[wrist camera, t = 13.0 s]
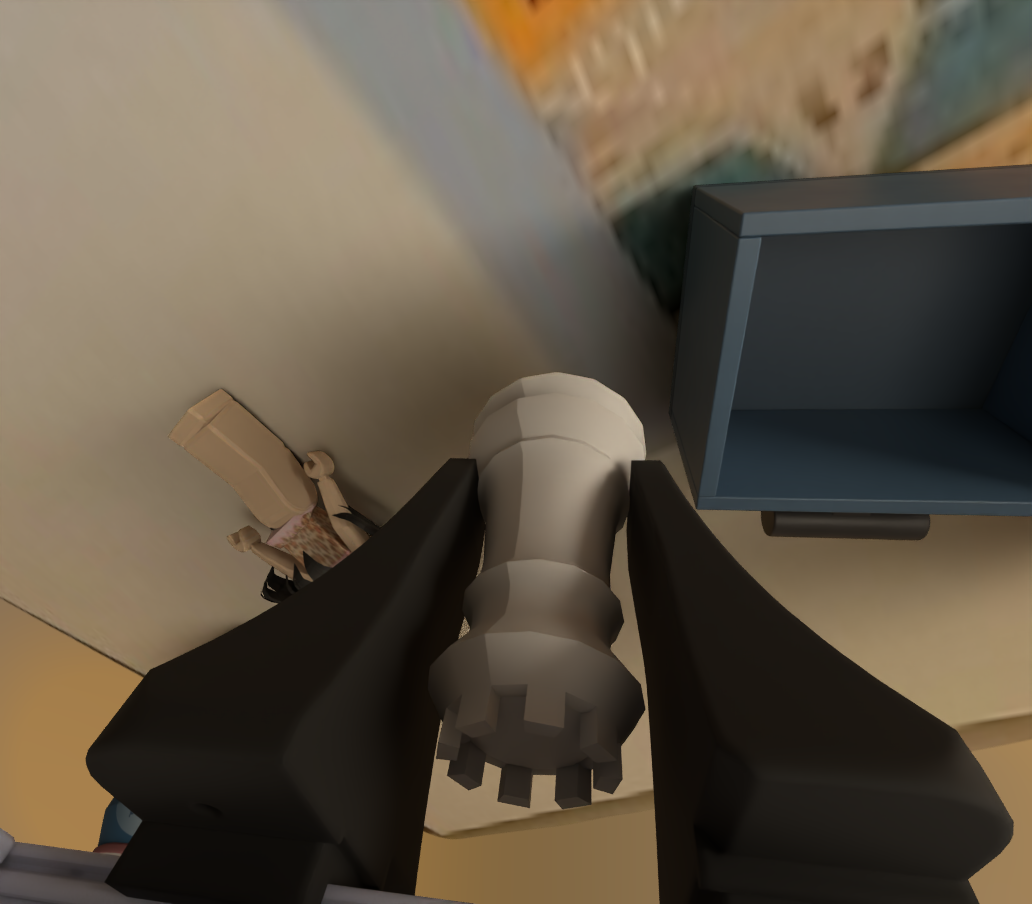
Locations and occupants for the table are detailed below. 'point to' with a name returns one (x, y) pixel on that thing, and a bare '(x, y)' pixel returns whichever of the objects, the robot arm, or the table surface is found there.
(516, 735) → the rook chess piece
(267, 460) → the toy figure
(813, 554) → the table surface
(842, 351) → the basket
